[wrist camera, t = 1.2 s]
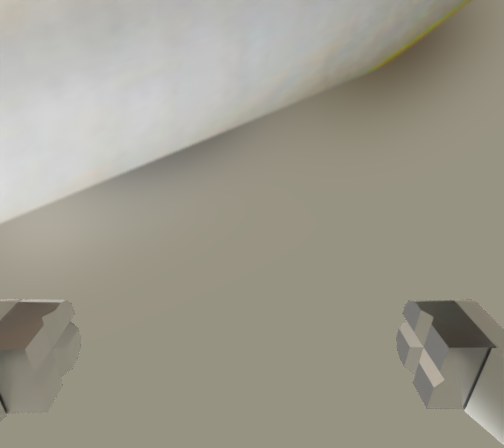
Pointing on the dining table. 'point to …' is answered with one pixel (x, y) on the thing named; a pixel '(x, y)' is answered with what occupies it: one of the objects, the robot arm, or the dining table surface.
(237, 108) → the dining table surface
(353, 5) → the dining table surface
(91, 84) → the dining table surface
